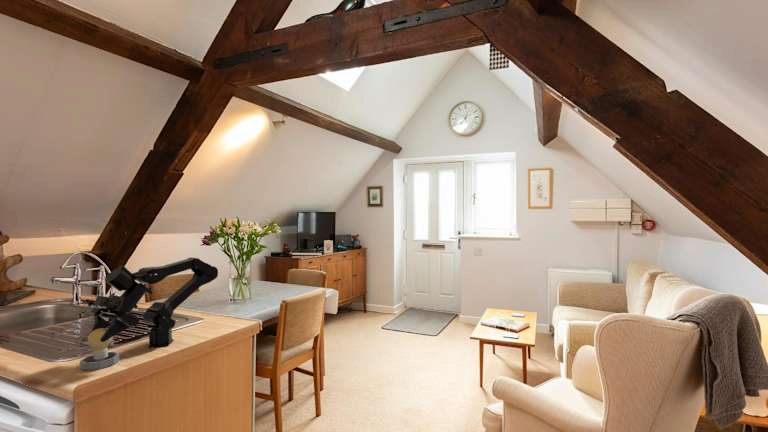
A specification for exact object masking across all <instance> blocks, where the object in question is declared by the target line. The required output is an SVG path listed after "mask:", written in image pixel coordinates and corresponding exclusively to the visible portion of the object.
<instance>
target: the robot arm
mask: <svg viewBox="0 0 768 432" xmlns="http://www.w3.org/2000/svg"><path fill="white" fill-rule="evenodd" d="M188 270H190V271H191V272H192V273H193V275H192V277H191V278H190V280H188V281H187V282H186V283H184V284H183V285H182V286H181V287H180V288H178V290H176V291H175V292H174V293H173V294H171V295H170V296H169V297H168V298H167V299H165V301H163V302H158V301H155V302H153V303H152V304H151V305H150V306H149V307H148V308H146V311H145V312H144V313H143V317H142V318H143V319H142V321H143V323H144V324H146V326H147V328H148V329H150V332H149V333H148V343H149V345H148V348H156V347H159V348H160V347H168V346H169V345H170V344H171V343H172V342H173V341H174V339H173V337H172V336H173V334H172V333H173V331H172V329H173V328H175V325H176V320H174V319H173V318H172V316H173V315H174V311H175V310H176V309H177V308H178V307H179V306H181V305H182V303H184V302H185V301H186V300H187V299H188V298H189V297H191V296H192V295H193V294H195V292H196V291H197V290H198V289H200V288H201V287H202V286H204V285H206V284H209V283H211V282H212V281H214V280H216V279H217V278H218V276H219V275H218V274H219V269H218V268H217V267H216V266H214V265H211V264H209V263H207V262H205V261H203V260H201V259H200V258H198V257H188V258H185V259H182V260H179V261H175V262H171V263H169V264H165V265H162V266H161V265H160V266H148V267H142V268H139V269H138V271H136V272H131V271H130V270H128V268H127V267H126V266H124V265H119V266H118V268H115V269H113V270H112V271H111V272H108V274H107V275H106V277H105V278H104V282H106V283H107V284H108V285H110V286H112V288H114V289H115V290H117V291H118V292H122V293H121V294H120V296H119V295H115V294H110V295H109V296H103V295H97V296H96V298H95V301H94V303H93V306H95V307H93V309H91V311H89V312H90V313H89V314H91V315H92V317H93V318H94V319H93V320H94V324H93V326H92V328H91V331H90V333H91V332H92V331H94V330H96V329H99V328H106V329H107V331H106V332H105V334H104V335H103V337H102V338H101V340H100V341H101V342H105V341H106V340H108V339H110V338H111V337H112V338H113V337H115V336H116V335H118V334H120V333H122V332H124V331H126V330H127V329H130V328H131V327H132V328H136V327H137V326H138V325H139V323H140V318H139V317H137V316H136V315H135V314H134V313H132V311H133V309H137V308H138V307H139V306H138V305H137V304H138V303H139V302H140V301H141V299H142V298H143V297H144V296H145V295H150V296H151V295H153V291H152V286H146V285H155V284H158V283H160V282H162V281H163V280H164V279H167V277H169V276H173V275H175V274H178V273H183V272H185V271H188ZM145 284H146V285H145Z"/></svg>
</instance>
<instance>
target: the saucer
mask: <svg viewBox="0 0 768 432" xmlns="http://www.w3.org/2000/svg"><path fill="white" fill-rule="evenodd" d="M119 360H120V353H119V352H116V351H108V357H106V358H105V359H103V360H95V359H94V354H90V355H88V356H85V357H84V358H83V359H82V358H81V360H79V367H80V368H81V370H82V371H97V370H102V369H106V368H110V367H112V366H114V365H116V364H117V363H118V362H119Z"/></svg>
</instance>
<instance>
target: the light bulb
mask: <svg viewBox="0 0 768 432" xmlns="http://www.w3.org/2000/svg"><path fill="white" fill-rule="evenodd" d="M107 329H108V328H99V329H96V330H94V331H92V332H91V331H90V332H89V335H88V337H87V343H88V345H89V346H90V347H91V348H92V350H93V355H94V359H95V360H103V359H105V358H106V357H108V352H109V351H108V350H109V348H108V346H109V345H110V343H111V341H112V339H113V337H111V338H110V339H108V340H106V341H105V342H101V341H100V340H101V338H102V337H103V335H104V334H105V332H106V331H107Z"/></svg>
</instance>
